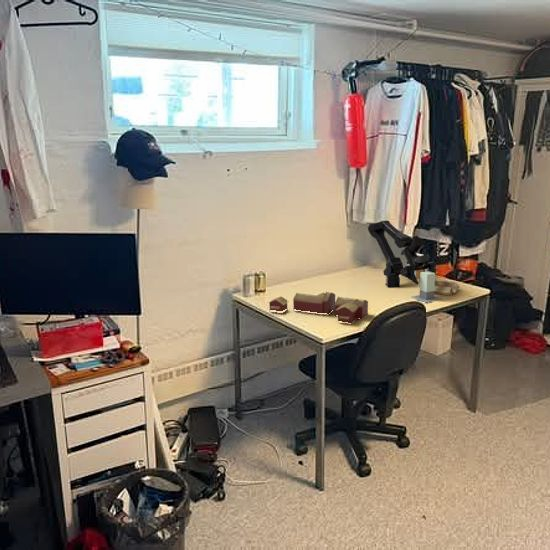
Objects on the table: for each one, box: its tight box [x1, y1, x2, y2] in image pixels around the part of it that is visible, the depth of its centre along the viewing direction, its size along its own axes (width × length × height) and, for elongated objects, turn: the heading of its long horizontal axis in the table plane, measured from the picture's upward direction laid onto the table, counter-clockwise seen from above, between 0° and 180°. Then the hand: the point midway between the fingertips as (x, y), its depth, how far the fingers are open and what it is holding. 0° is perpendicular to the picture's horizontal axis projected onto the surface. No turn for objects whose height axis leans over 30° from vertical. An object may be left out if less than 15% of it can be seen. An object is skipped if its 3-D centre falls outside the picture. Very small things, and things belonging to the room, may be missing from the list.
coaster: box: [411, 294, 443, 304], centre depth 271 cm, size 11×11×1 cm
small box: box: [406, 252, 425, 279], centre depth 310 cm, size 8×6×13 cm
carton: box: [434, 279, 460, 296], centre depth 281 cm, size 15×15×5 cm
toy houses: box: [267, 291, 369, 324], centre depth 254 cm, size 45×20×10 cm, turn 63°
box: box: [419, 271, 436, 300], centre depth 269 cm, size 5×5×13 cm
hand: (425, 283), depth 270 cm, fingers open, 9 cm apart
